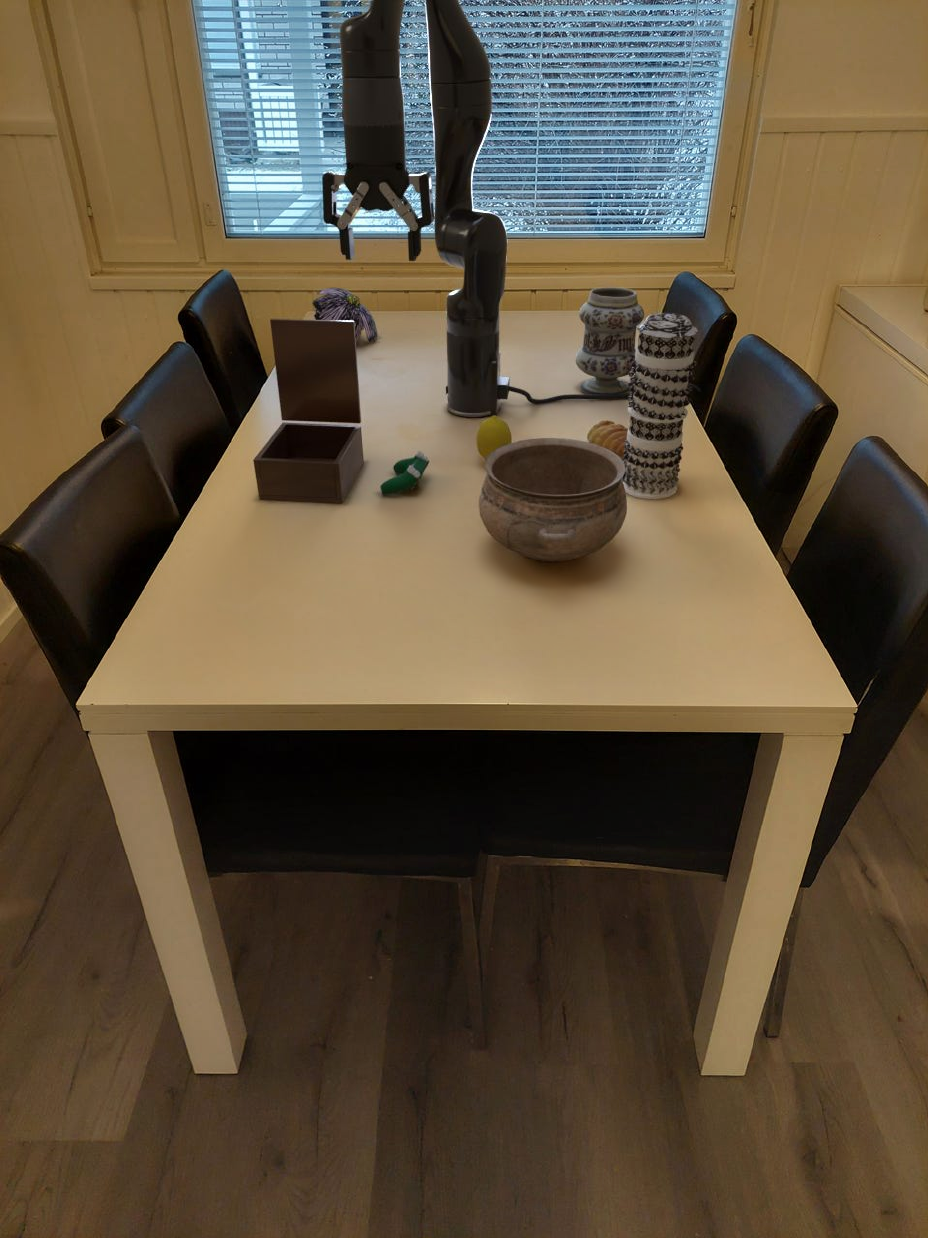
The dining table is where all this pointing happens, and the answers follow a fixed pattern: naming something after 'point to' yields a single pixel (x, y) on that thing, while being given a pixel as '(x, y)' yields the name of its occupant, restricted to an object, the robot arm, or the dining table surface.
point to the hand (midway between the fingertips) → (381, 259)
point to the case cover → (316, 370)
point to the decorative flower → (345, 311)
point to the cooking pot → (553, 498)
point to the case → (309, 462)
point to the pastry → (609, 436)
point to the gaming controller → (406, 474)
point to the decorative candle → (658, 405)
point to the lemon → (492, 435)
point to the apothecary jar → (608, 339)
